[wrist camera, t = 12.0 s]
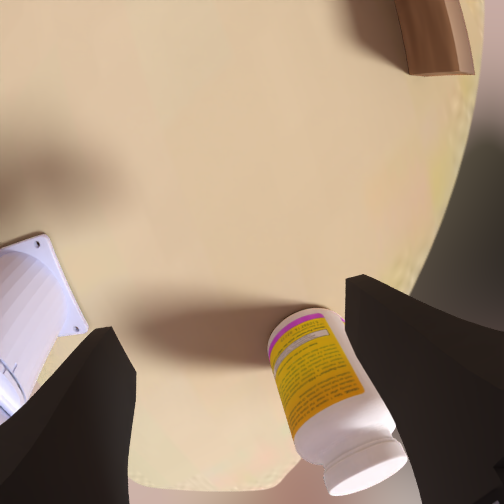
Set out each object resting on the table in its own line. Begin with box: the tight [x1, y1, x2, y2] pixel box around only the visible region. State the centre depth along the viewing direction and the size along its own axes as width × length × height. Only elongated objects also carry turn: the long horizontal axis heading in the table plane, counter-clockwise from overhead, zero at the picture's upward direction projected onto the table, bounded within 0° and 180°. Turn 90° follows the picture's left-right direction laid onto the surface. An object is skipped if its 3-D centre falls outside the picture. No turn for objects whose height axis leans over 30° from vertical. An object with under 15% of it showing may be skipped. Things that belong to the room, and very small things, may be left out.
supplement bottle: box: [267, 308, 407, 496], centre depth 17 cm, size 7×7×13 cm
